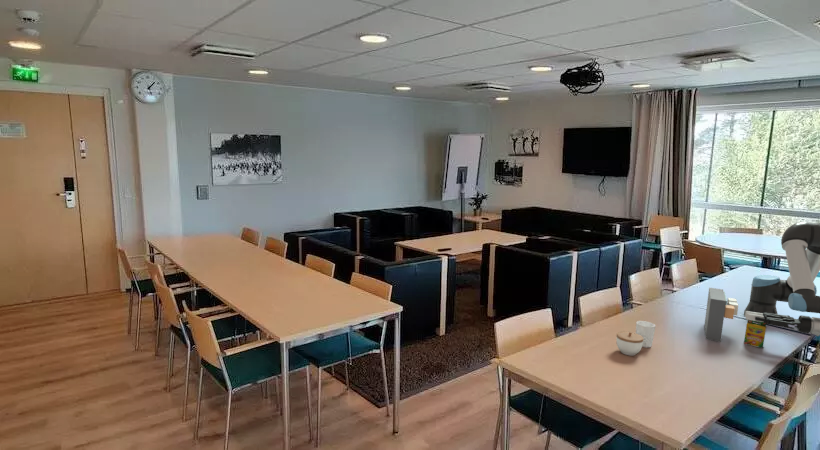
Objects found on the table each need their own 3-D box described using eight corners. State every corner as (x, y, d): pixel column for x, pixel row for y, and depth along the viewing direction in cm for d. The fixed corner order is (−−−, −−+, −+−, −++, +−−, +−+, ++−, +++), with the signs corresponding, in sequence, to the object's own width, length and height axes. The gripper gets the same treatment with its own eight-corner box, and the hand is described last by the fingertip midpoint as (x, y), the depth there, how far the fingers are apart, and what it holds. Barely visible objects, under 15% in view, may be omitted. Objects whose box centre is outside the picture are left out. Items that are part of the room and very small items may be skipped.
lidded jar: (640, 349, 211) (642, 329, 210) (643, 359, 201) (645, 338, 200) (614, 346, 214) (616, 326, 213) (616, 355, 204) (618, 334, 203)
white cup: (655, 348, 213) (657, 327, 211) (636, 347, 214) (638, 326, 213) (650, 342, 220) (652, 321, 219) (632, 340, 222) (634, 320, 220)
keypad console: (704, 324, 246) (709, 287, 243) (719, 327, 243) (724, 289, 240) (705, 339, 226) (710, 298, 223) (722, 342, 223) (727, 301, 220)
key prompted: (723, 314, 227) (724, 304, 226) (732, 316, 225) (733, 306, 224) (724, 317, 223) (725, 307, 222) (733, 319, 221) (734, 308, 220)
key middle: (727, 311, 232) (728, 301, 232) (736, 312, 231) (737, 302, 230) (728, 314, 228) (729, 304, 227) (737, 315, 226) (738, 305, 226)
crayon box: (743, 344, 221) (746, 320, 219) (743, 342, 224) (747, 318, 222) (763, 348, 217) (766, 323, 215) (763, 346, 219) (766, 322, 217)
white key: (726, 307, 239) (727, 297, 238) (734, 308, 237) (736, 298, 236) (727, 309, 234) (728, 300, 234) (735, 311, 233) (737, 301, 232)
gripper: (813, 339, 202) (746, 328, 214) (805, 327, 216) (742, 317, 228) (815, 322, 201) (748, 312, 212) (807, 312, 215) (745, 302, 227)
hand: (745, 315), depth 220 cm, fingers open, 4 cm apart
